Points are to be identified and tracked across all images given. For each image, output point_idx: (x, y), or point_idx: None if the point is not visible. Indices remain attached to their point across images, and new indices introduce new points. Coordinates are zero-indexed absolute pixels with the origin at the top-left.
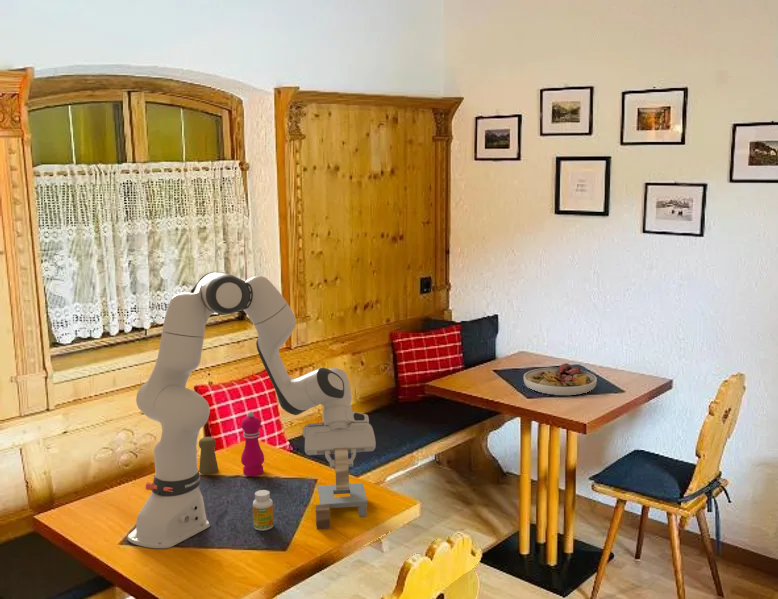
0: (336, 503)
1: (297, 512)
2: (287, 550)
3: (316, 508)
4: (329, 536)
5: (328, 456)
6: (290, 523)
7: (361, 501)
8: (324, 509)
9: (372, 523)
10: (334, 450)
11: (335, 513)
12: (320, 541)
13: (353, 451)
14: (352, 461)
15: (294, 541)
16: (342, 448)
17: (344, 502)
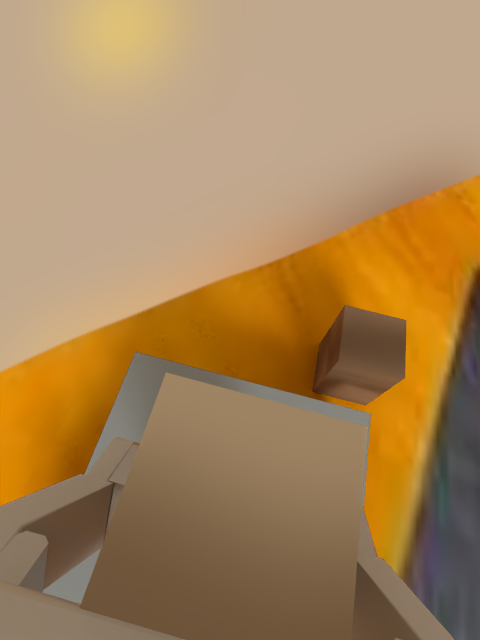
0: (288, 392)
1: (441, 566)
2: (473, 267)
3: (403, 338)
4: (334, 293)
5: (411, 604)
6: (471, 453)
7: (163, 361)
8: (368, 314)
9: (157, 319)
10: (345, 607)
11: None
12: (368, 276)
13: (5, 541)
14: (111, 453)
15: (452, 308)
16: (187, 590)
17: (247, 385)
